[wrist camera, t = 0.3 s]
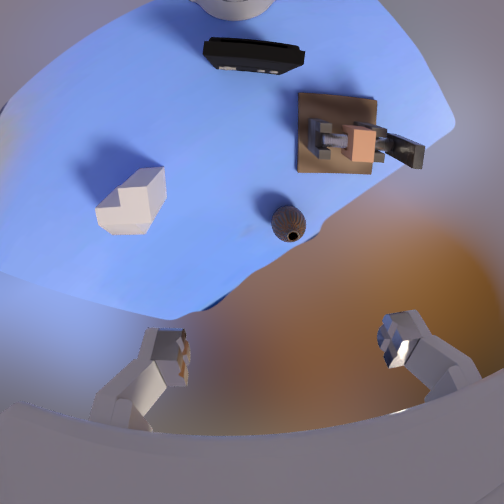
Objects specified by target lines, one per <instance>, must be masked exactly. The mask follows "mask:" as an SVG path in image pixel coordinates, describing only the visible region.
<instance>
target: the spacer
mask: <svg viewBox="0 0 504 504" xmlns="http://www.w3.org/2000/svg"><path fill="white" fill-rule="evenodd" d="M342 131H343V132H345V133H347V134H348V145H347V148H341V154H342V155H344V156H345V157H346V158H348V159H349V160H351V161H355V162H371V163H373V161H374V152H375V141H376V131H374V130H371V129H368V128H366V127H363V126H353V125H342Z"/></svg>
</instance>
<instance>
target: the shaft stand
mask: <svg viewBox="0 0 504 504" xmlns="http://www.w3.org/2000/svg"><path fill="white" fill-rule="evenodd" d="M376 115H377V100H370V99H363V98H356V97H348V96H338V95H328V94H314V93H298V158H297V172H298V173H349V174H371V172H372V163H371V162H355V161H351V160H349V159H348V158H346V157H345V156H344V155H342V154H341V148H339V147H323V146H322V143H321V136H322V133H333V134H347V133H345V132H343V131H342V125H353V126H363V127H366V128H368V129H371V130H374V131H376V137H383V138H387V129H385V128H382V127H380V126H377V125H376ZM384 158H385V154H384V153H382V152H380V151H378V150H375V152H374V161H373V162H382V163H384Z"/></svg>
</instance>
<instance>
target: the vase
mask: <svg viewBox="0 0 504 504" xmlns="http://www.w3.org/2000/svg"><path fill="white" fill-rule="evenodd" d="M272 229H273V232H274V234H275V235H276V236H277V237H278V238H279V239H280V240H282V241H285V242H295V241H297V240H299V239H300V238H301V237H302V236H303V234H304V232H305V229H306V220H305V217H304V215H303V214H302V212H301V211H300V210H298V209H297V208H295V207H293V206H283V207H281V208H279V209H278V210H277V211H276V212H275V213H274V215H273V217H272Z"/></svg>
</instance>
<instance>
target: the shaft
mask: <svg viewBox="0 0 504 504" xmlns="http://www.w3.org/2000/svg"><path fill="white" fill-rule="evenodd" d="M321 143H322V146H323V147H339V148H347V145H348V134H333V133H322V136H321ZM375 150H380V151H385V153H386V154H388V155H390V156H392V157H393V158H395V159H397V160H399V161H401V162H402V163H404V164H406V165H408V166H409V167H411V168H414V169H422V165H423V158H424V151H425V146H424V145H421V144H419V143H417V142H414V141H412V140H409V139H407V138H404V137H402V136H399V135H397V134H391V133H387V138H379V137H376V141H375Z"/></svg>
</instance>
